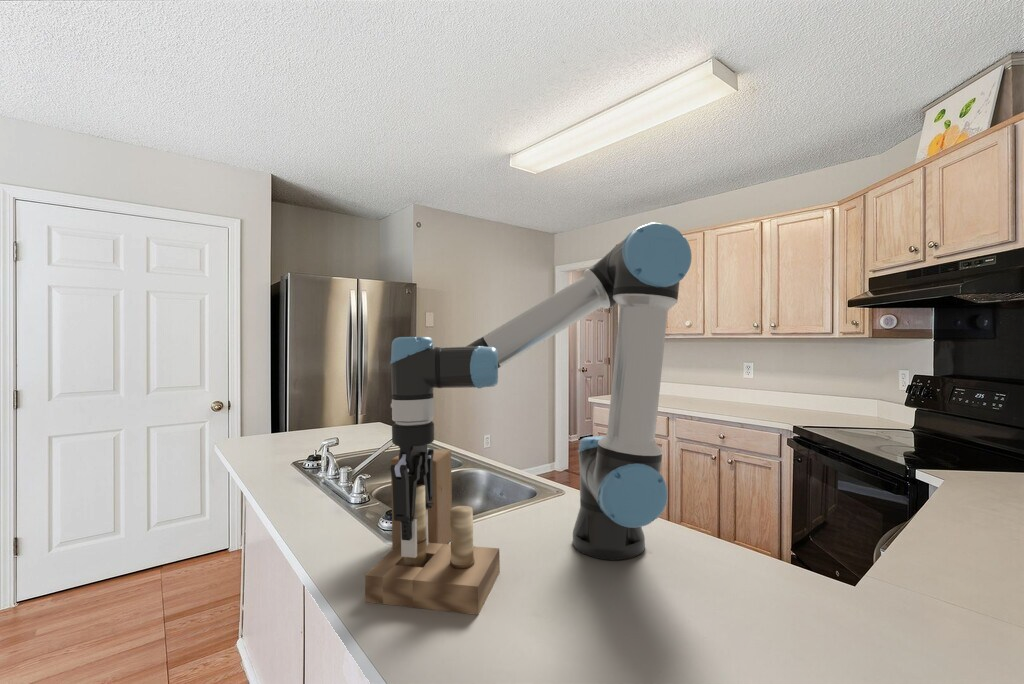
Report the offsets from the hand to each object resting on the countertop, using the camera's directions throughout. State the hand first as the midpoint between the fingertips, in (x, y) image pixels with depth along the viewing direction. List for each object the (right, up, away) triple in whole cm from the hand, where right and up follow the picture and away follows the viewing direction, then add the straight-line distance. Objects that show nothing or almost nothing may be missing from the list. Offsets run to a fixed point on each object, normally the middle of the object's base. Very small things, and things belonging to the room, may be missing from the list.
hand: (415, 549), depth 83 cm
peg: (0, -3, 0) cm, 3 cm away
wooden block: (-1, -7, +16) cm, 17 cm away
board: (+4, -6, -1) cm, 7 cm away
